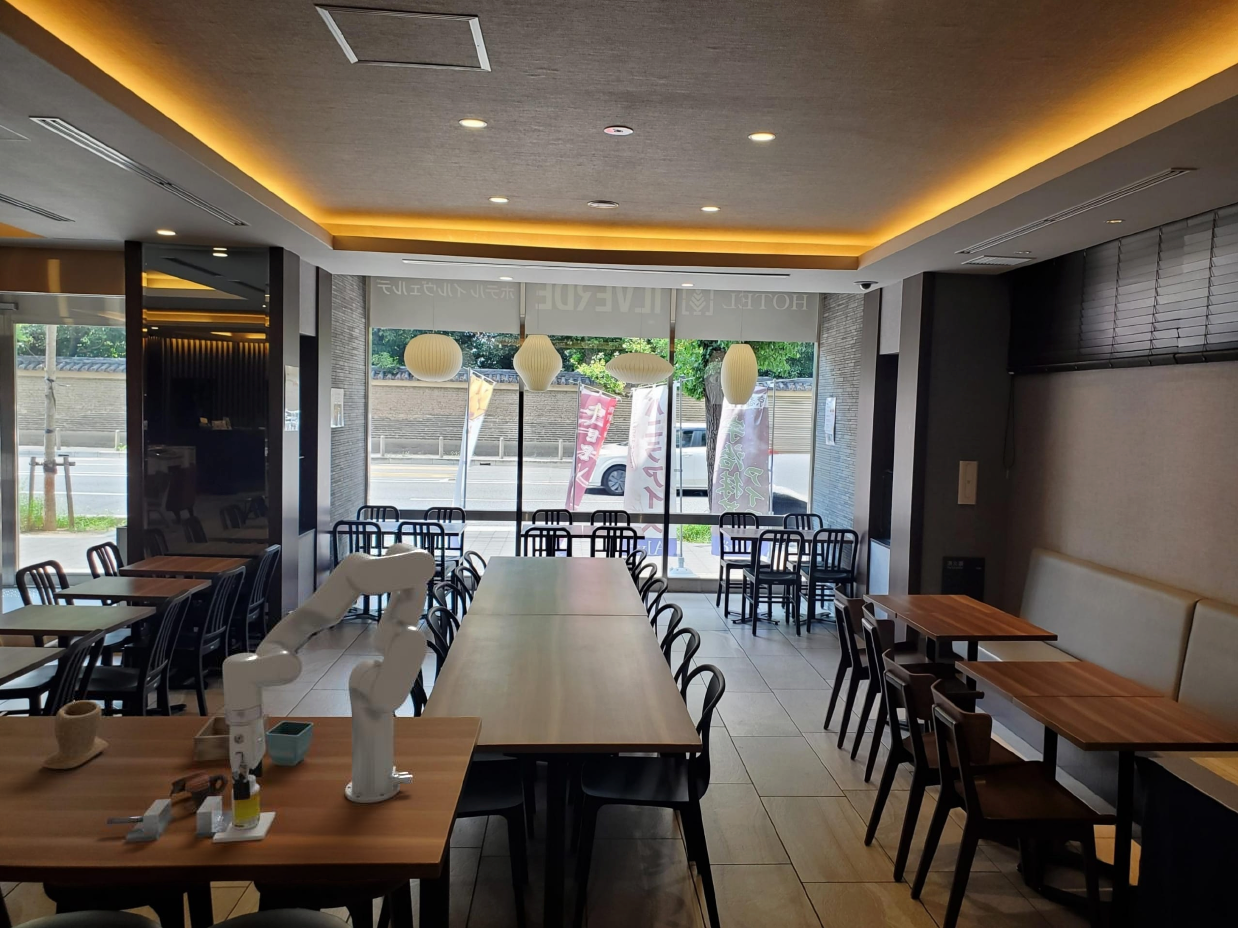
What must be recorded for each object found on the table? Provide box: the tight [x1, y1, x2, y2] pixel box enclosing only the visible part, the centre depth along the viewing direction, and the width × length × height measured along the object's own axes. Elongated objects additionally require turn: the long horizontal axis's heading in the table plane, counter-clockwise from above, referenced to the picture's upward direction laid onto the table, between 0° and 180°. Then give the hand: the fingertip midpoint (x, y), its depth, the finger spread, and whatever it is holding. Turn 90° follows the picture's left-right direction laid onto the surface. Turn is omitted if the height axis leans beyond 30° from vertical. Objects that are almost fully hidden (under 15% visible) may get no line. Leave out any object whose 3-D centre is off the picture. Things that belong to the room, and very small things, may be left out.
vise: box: [106, 795, 232, 843], centre depth 174 cm, size 25×9×5 cm, turn 100°
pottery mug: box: [169, 770, 229, 814], centre depth 186 cm, size 12×10×8 cm
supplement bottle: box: [230, 775, 261, 830], centre depth 174 cm, size 6×6×10 cm
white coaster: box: [212, 811, 276, 843], centre depth 175 cm, size 10×10×1 cm
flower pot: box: [265, 720, 315, 767], centre depth 207 cm, size 9×9×9 cm
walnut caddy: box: [193, 713, 270, 762], centre depth 215 cm, size 15×15×6 cm
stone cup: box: [42, 699, 109, 770], centre depth 206 cm, size 15×12×15 cm
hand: (248, 787), depth 175 cm, fingers open, 9 cm apart
